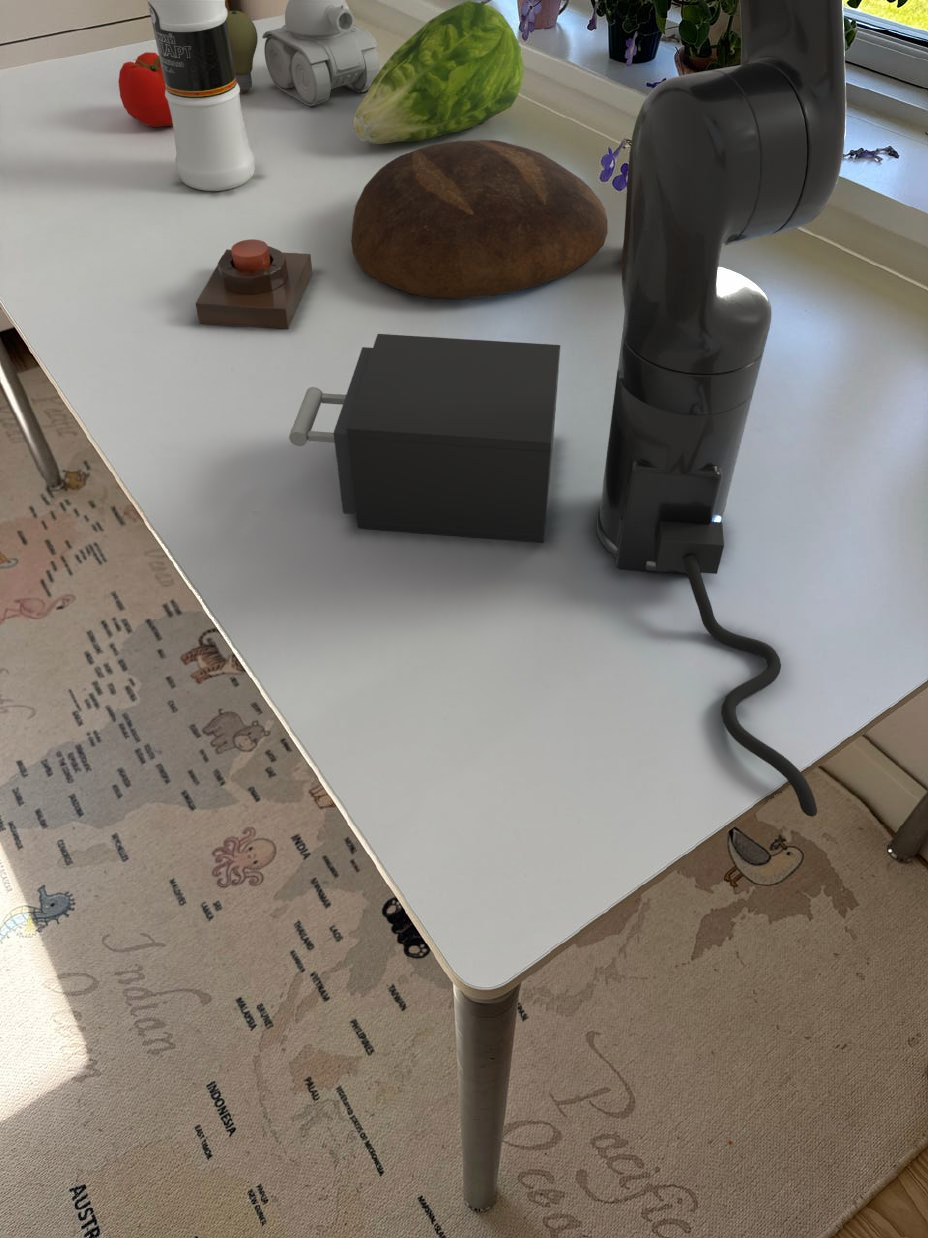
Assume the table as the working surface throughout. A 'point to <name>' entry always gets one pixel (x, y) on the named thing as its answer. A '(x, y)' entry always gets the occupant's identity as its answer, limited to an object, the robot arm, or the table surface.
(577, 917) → the table surface
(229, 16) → the light bulb
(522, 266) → the bread
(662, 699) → the table surface
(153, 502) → the table surface
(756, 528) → the table surface
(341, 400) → the drawer
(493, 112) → the lettuce
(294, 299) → the brown button base
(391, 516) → the cabinet
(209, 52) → the vodka
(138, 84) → the red bell pepper
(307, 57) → the toy tank
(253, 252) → the button
